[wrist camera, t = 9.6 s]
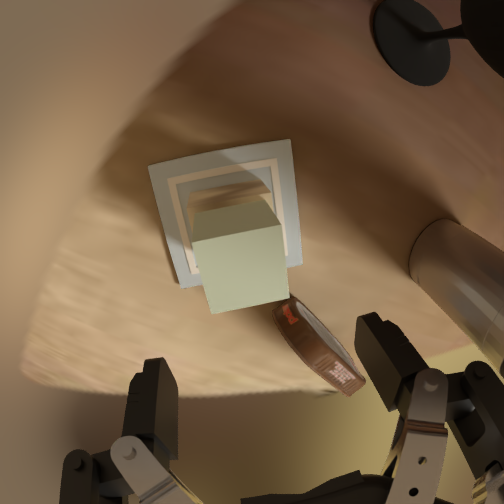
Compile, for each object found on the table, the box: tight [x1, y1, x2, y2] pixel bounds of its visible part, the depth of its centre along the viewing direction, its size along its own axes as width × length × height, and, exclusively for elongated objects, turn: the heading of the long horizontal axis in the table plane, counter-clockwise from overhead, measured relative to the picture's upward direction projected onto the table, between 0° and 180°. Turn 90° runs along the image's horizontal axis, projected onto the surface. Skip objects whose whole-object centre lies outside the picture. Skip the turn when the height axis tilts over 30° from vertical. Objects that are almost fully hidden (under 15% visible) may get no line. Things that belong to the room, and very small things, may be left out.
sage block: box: [192, 200, 290, 314], centre depth 19 cm, size 5×5×5 cm
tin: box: [272, 297, 366, 397], centre depth 30 cm, size 15×3×8 cm, turn 39°
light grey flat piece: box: [148, 139, 303, 289], centre depth 26 cm, size 12×12×1 cm
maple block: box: [186, 179, 274, 233], centre depth 24 cm, size 6×6×4 cm
